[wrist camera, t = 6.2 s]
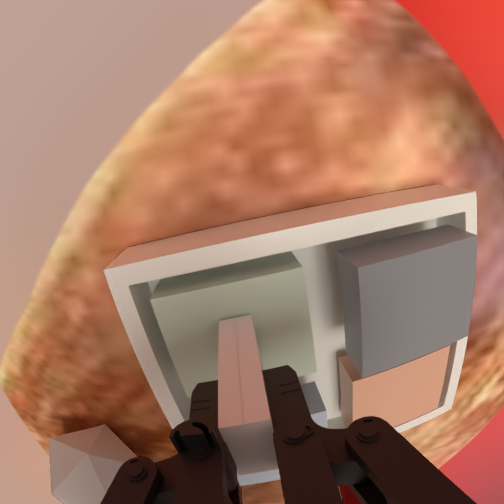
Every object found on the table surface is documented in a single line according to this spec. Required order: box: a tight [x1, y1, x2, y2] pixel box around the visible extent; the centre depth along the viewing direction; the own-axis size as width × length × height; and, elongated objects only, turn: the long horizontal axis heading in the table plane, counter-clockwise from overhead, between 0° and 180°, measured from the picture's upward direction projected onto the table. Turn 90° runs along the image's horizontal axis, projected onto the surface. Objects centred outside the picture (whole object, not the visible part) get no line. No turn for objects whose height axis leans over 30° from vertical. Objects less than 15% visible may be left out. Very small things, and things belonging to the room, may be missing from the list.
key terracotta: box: [339, 345, 450, 428], centre depth 18 cm, size 7×6×3 cm
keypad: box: [104, 184, 477, 433], centre depth 18 cm, size 20×17×4 cm
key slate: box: [237, 381, 328, 486], centre depth 17 cm, size 7×6×3 cm
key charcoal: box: [337, 224, 477, 378], centre depth 15 cm, size 7×6×3 cm
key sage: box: [150, 251, 317, 398], centre depth 16 cm, size 7×6×3 cm
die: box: [50, 424, 138, 504], centre depth 18 cm, size 8×9×10 cm
